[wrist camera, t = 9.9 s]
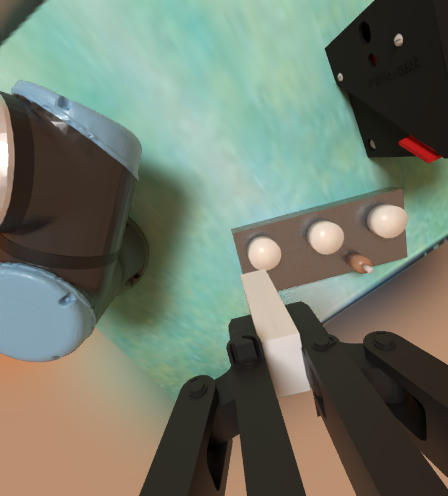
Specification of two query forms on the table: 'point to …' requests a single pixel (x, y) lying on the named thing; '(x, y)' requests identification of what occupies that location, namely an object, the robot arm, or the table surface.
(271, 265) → the knob
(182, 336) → the table surface
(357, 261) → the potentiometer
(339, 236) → the knob mid
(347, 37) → the electrical component
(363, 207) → the plate
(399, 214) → the knob outer
